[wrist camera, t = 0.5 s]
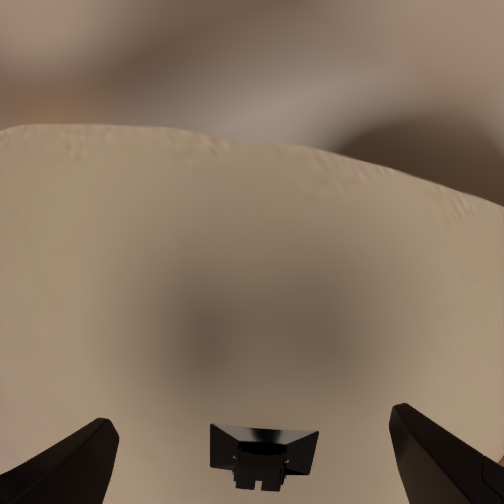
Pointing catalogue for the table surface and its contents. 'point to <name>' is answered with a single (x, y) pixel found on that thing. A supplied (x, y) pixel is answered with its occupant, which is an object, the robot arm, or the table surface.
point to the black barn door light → (261, 454)
